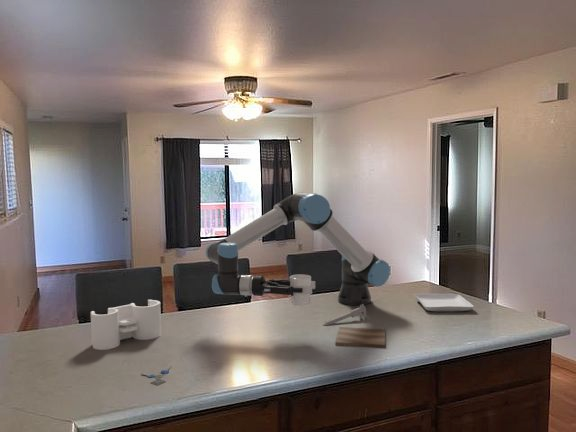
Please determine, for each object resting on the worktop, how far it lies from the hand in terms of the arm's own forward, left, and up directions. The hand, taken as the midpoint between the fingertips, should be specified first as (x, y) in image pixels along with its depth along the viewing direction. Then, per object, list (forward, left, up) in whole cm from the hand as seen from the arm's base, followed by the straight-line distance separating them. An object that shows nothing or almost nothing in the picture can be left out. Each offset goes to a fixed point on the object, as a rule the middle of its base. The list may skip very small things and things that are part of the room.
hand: (313, 287), depth 178 cm
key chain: (+44, -42, -18) cm, 63 cm away
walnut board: (+1, +17, -18) cm, 25 cm away
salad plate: (-47, +51, -18) cm, 72 cm away
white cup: (0, -5, -6) cm, 8 cm away
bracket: (+16, -66, -18) cm, 70 cm away
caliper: (-18, +10, -18) cm, 28 cm away
